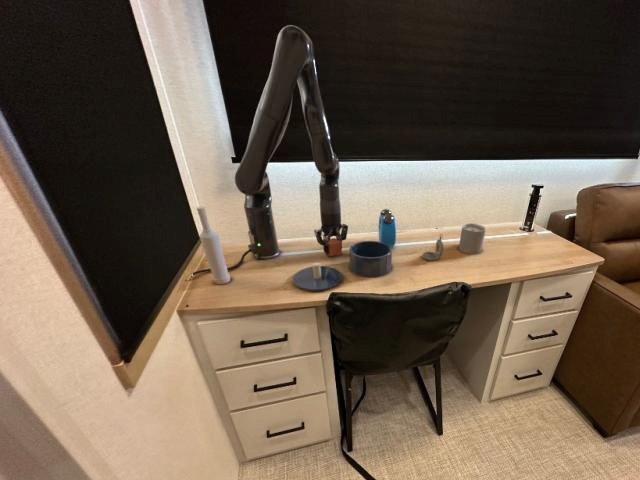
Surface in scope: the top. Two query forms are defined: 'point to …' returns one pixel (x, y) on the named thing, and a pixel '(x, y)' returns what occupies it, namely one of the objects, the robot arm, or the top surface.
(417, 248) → the top surface
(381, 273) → the bowl
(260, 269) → the top surface
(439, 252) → the pocket watch
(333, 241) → the block
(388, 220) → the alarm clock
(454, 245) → the top surface
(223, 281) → the bottle
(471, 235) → the grey cylinder
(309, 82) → the robot arm
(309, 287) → the lid
